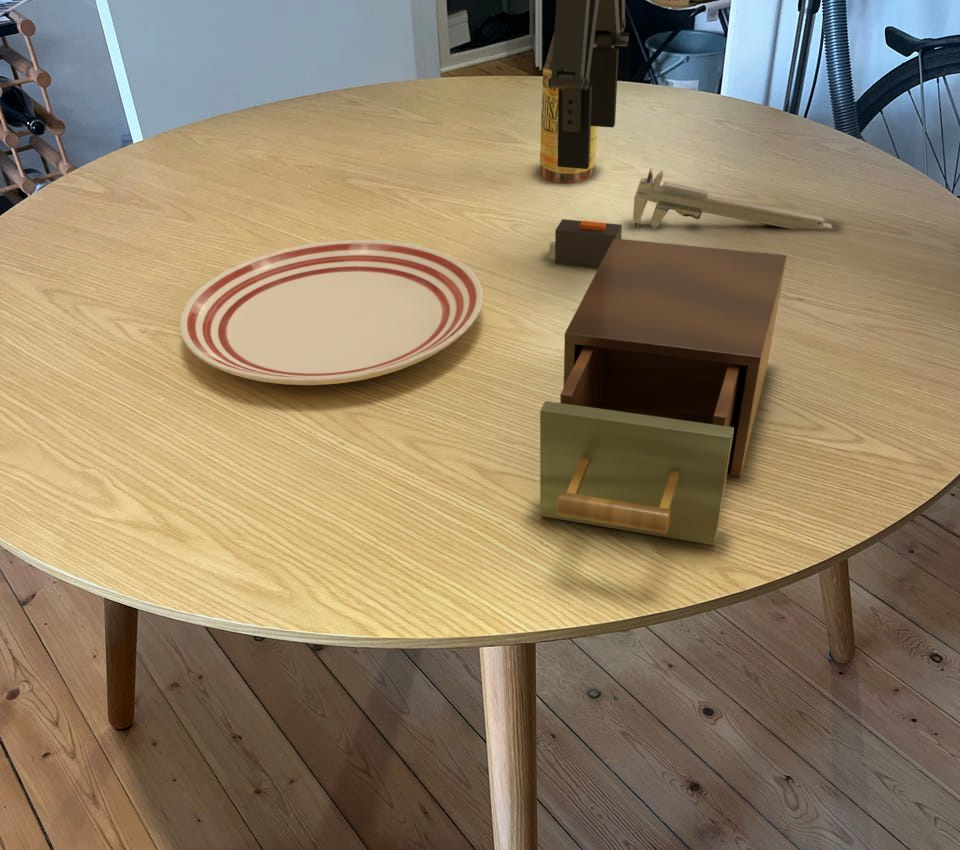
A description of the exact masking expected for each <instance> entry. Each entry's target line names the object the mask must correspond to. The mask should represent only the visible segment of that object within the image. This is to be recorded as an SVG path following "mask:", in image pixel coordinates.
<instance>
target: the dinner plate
mask: <svg viewBox="0 0 960 850" xmlns="http://www.w3.org/2000/svg"><path fill="white" fill-rule="evenodd" d="M483 291H484V290H483V287H482V284H481V282H480V280H479V278H478V276H477V275H476V274H475V272H473V270H471V269H470V267H468V266H467V265H466V264H465V263H463V262H462V261H460V260H458V259H456V258H455V257H452V256H451V255H448V254H446V253H443V252H442V251H439V250H435V249H432V248H428V247H425V246H422V245H416V244H412V243H407V242H400V241H392V240H383V239H382V240H381V239H347V240H345V239H344V240H331V241H321V242H316V243H315V242H314V243H307V244H302V245H297V246H292V247H288V248H284V249H280V250H276V251H273V252H269V253H267V254H263V255H261V256H257V257H254V258H252V259H248V260H246V261H243V262H241V263H239V264H236V265H235V266H233V267H230V268H228V269H226V270H224V271H223V272H221V273H219V274H218V275H216V276H214V277H212V278H211V279H210V280H208V281H207V282H205V283H204V284H203V285H202V286H200V288H199V289H197V290H196V291H195V292H194V293H193V294H192V296H191V297H190V298H189V299H188V300H187V302H186V304H185V305H184V307H183V309H182V312H181V316H180V317H179V331H180V332H179V333H180V335H181V338H182V341H183V342H184V344H185V346H186V347H187V349H188V350H189V351H190V352H191V353H192V354H193V355H194V356H195V357H196V358H198V359H200V360H201V361H202V362H204V363H206V364H207V365H209V366H211V367H213V368H215V369H217V370H220V371H222V372H225V373H226V374H231V375H233V376H237V377H239V378H244V379H248V380H252V381H257V382H263V383H269V384H280V385H291V386H292V385H293V386H324V385H338V384H345V383H351V382H352V383H353V382H359V381H363V380H368V379H374V378H378V377H380V376H384V375H388V374H391V373H394V372H397V371H401V370H404V369H405V368H408V367H411V366H414V365H416V364H418V363H420V362H422V361H425V360H426V359H428V358H430V357H433V356H434V355H436V354H438V353H439V352H441V351H442V350H444V349H445V348H447V347H448V346H450V345H451V344H453V343H454V342H456V340H458V339H459V338H460V337H461V336H463V335H464V334H465V333H466V332H467V330H468V329H469V328H470V327H471V326H472V325H473V324H474V322H475V321H476V319H478V316H479V314H480V311H481V309H482V306H483V301H484V292H483Z"/></svg>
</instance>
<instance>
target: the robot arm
mask: <svg viewBox="0 0 960 850" xmlns="http://www.w3.org/2000/svg"><path fill="white" fill-rule="evenodd" d="M555 1H556V2H555V18H554V31H553V34H554V46H553V62H552V76H551V78H548V87H549V88H558V167H566V168H579V169H588V167H589V163H590V132H591V126H597V128H598V127H600V128H611V129H613V128H614V127H615V125H616V116H617V115H616V114H617V113H616V112H617V95H618V92H617V91H618V74H619V73H618V72H619V52H620V48H617V47H627V46H628V44H629V32H624V31H625V28H626V24H627V23H626V0H555ZM593 45H596V47H593ZM616 46H617V47H616ZM615 47H616V48H615ZM567 70H574V72H571V71H567Z"/></svg>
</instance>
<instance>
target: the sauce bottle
mask: <svg viewBox="0 0 960 850" xmlns="http://www.w3.org/2000/svg"><path fill="white" fill-rule="evenodd" d="M553 46H554V33H553V35H552V38H551V42H550V46H549V48H548V53H547V55H546V58H545V63H544V65H543V68H542V92H541V93H542V94H541V116H540V122H541V123H540V152H539V163H540V175H541V176H542V177H543V178H544V179H545V180H547V181H549V182H552V183H560V184H572V183H579V182H584V181H587V180H588V179H589V178H591V177H592V175H593V174H594V166H595V164H596V151H597V139H598V126H591V132H590V163H589V167H588V169H579V168H566V167H558V88H549V87H548V78H551V76H552V62H553ZM593 47H596V45H593ZM567 71H571V72H574V70H567Z"/></svg>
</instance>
